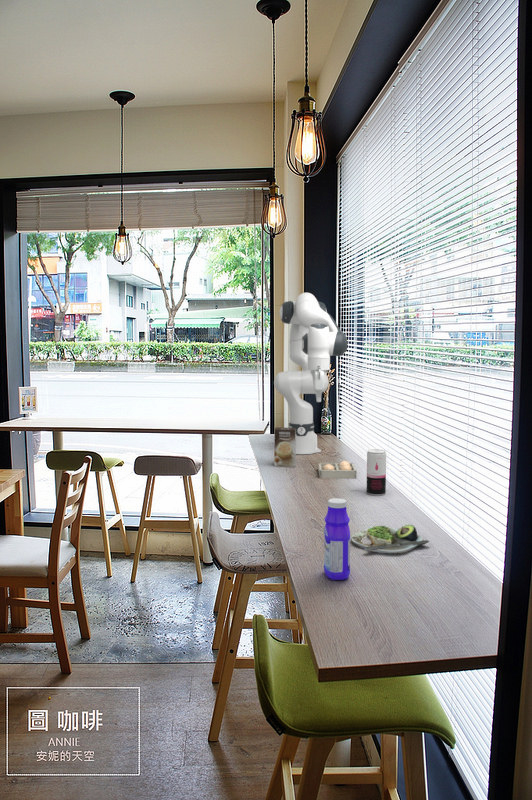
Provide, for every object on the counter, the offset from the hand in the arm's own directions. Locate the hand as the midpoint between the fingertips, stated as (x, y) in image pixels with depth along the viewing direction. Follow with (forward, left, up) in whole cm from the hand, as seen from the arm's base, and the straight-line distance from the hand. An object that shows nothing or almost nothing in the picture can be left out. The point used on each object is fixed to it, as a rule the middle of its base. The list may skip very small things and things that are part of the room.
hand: (318, 400), depth 226 cm
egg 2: (0, +11, -29) cm, 31 cm away
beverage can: (+30, +19, -30) cm, 46 cm away
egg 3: (+7, +11, -29) cm, 32 cm away
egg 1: (+7, +4, -29) cm, 30 cm away
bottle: (+101, +1, -30) cm, 105 cm away
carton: (+4, +7, -30) cm, 31 cm away
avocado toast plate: (+79, +16, -30) cm, 86 cm away
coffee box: (-14, -14, -30) cm, 36 cm away
